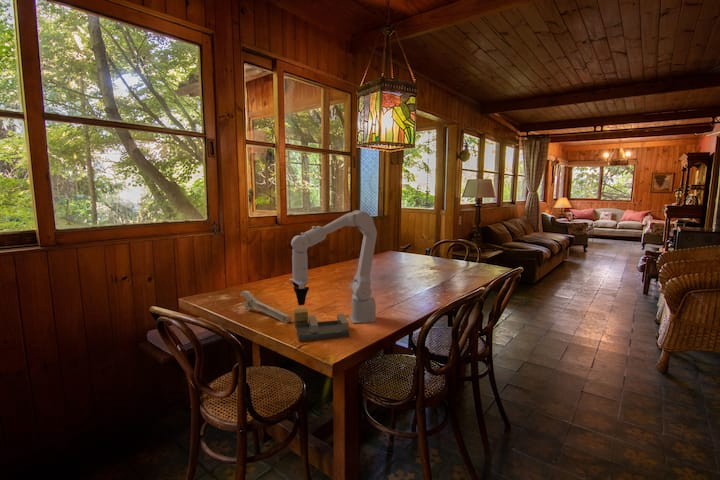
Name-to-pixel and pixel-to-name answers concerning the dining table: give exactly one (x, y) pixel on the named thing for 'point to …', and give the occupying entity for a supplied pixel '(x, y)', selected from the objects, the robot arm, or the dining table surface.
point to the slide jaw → (313, 324)
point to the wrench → (263, 307)
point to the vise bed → (324, 329)
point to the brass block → (300, 316)
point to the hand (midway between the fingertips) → (300, 301)
